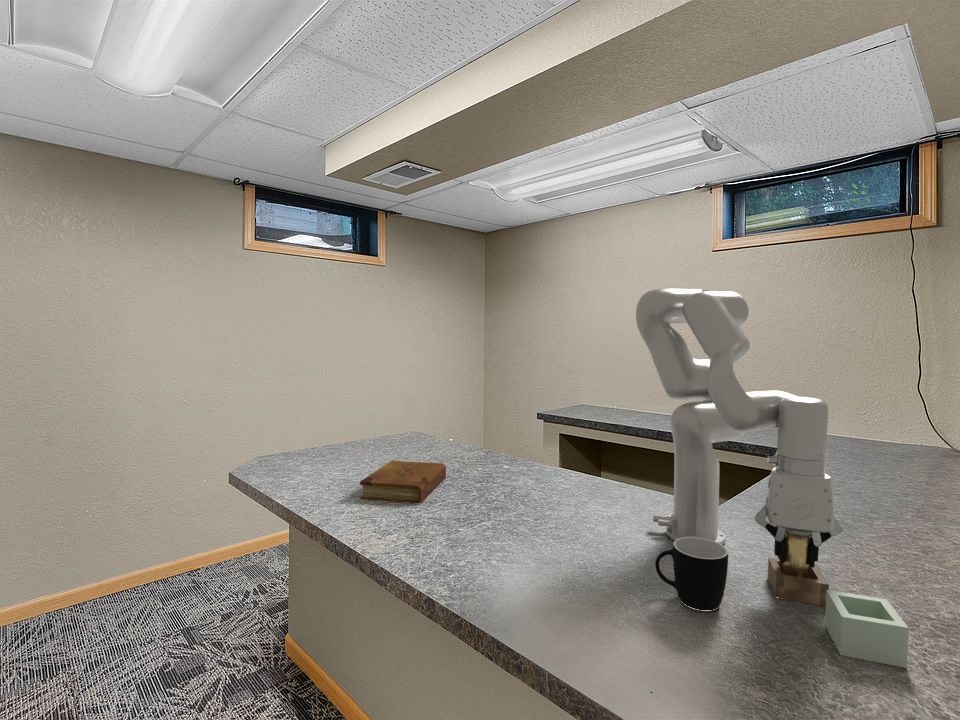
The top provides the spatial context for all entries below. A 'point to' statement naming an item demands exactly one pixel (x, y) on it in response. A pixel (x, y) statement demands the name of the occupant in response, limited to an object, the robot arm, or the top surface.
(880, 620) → the socket
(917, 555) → the top surface
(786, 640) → the top surface
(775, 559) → the mount
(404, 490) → the diary
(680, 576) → the mug
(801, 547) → the pin
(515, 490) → the top surface
